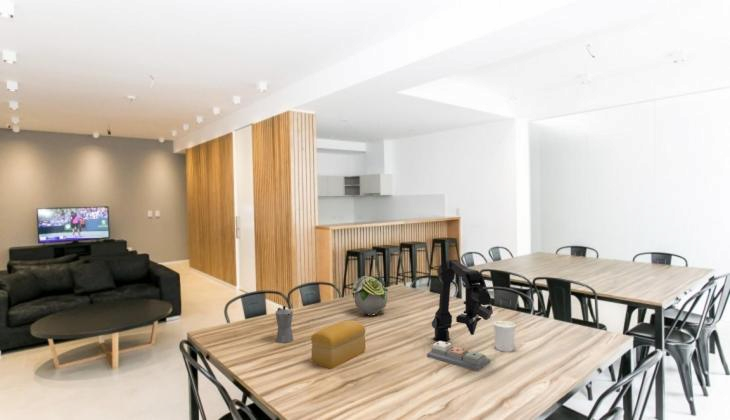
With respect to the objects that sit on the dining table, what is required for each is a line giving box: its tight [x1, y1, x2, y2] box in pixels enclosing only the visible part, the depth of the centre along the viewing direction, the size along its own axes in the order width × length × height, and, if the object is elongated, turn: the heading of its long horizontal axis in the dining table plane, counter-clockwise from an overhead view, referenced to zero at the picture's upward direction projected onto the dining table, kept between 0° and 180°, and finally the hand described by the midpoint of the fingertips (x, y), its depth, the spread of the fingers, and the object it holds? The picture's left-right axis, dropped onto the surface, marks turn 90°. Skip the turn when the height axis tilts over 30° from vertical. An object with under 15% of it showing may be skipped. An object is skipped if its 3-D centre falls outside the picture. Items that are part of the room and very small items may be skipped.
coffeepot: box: [275, 305, 294, 344], centre depth 208 cm, size 15×9×18 cm, turn 33°
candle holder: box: [493, 320, 516, 353], centre depth 191 cm, size 10×10×12 cm
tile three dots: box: [449, 346, 468, 356], centre depth 179 cm, size 6×6×3 cm
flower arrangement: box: [350, 275, 389, 316], centre depth 253 cm, size 25×25×24 cm
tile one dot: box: [465, 350, 485, 360], centre depth 173 cm, size 6×6×3 cm
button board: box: [426, 346, 491, 372], centre depth 179 cm, size 25×12×4 cm, turn 49°
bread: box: [310, 319, 366, 369], centre depth 183 cm, size 24×13×15 cm, turn 142°
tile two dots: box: [432, 341, 452, 351], centre depth 184 cm, size 6×6×3 cm
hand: (472, 334), depth 174 cm, fingers closed
